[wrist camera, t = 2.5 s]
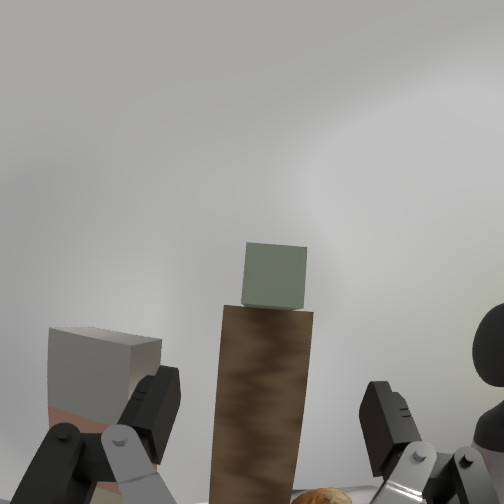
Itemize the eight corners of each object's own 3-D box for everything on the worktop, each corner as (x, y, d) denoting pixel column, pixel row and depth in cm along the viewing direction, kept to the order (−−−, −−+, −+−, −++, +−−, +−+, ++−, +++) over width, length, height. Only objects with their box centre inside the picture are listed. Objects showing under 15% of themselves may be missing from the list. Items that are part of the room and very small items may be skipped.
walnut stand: (273, 529, 32) (299, 313, 38) (275, 571, 22) (313, 311, 28) (215, 524, 32) (233, 307, 38) (206, 566, 22) (223, 304, 28)
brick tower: (159, 547, 24) (162, 339, 30) (141, 584, 17) (131, 345, 22) (100, 529, 25) (92, 326, 30) (74, 560, 17) (49, 327, 22)
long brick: (281, 312, 42) (283, 282, 43) (303, 308, 20) (307, 247, 21) (250, 310, 42) (253, 279, 43) (241, 303, 21) (246, 242, 21)
